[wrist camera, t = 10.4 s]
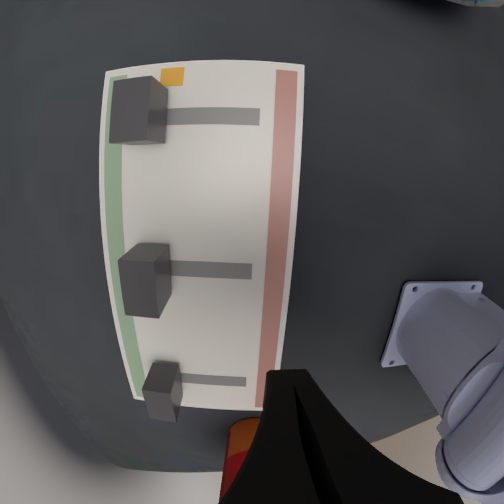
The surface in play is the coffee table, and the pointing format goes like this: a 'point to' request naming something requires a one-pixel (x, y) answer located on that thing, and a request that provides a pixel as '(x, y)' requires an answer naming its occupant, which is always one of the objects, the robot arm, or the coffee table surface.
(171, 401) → the block
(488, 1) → the puzzle ball
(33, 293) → the coffee table surface
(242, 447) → the paper cup
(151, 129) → the block
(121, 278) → the breaker
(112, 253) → the breaker panel
